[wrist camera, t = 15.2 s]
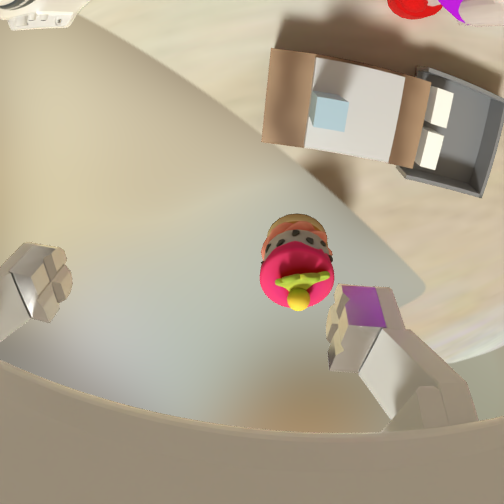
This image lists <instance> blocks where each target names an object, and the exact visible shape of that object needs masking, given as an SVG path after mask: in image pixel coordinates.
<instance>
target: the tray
mask: <svg viewBox="0 0 504 504" xmlns="http://www.w3.org/2000/svg"><path fill="white" fill-rule="evenodd" d="M415 77H416V78H419V79H422V80H425V81H428V82H431V86H433V87H437V88H440V89H443V90H446V91H448V92H451V93H454V95H453V100H452V105H451V110H450V114H449V119H448V123H447V128H444V127H441V126H437V125H434V124H431V123H429V122H427V121H425V120H424V123H423V126H426V127H429V128H431V129H433V130H435V131H436V132H438V133H440V134H442V135H443V136H444V138H443V142H442V146H441V150H440V154H439V158H438V162H437V165H436V169H435V170H433V169H429V168H425V167H421V166H419V165H418V164H417V163H416V162H415V161H414V165H413V169H411V168H407V167H403V166H398V165H397V167H396V168H397V169H398V171H399V172H400V173H401V174H402V175H403V176H404V178H405V179H409V180H413V181H417V182H422V183H426V184H430V185H434V186H438V187H442V188H446V189H450V190H454V191H457V192H461V193H465V194H468V195H472V196H475V197H479V198H482V196H483V193H484V190H485V187H486V184H487V181H488V178H489V175H490V171H491V168H492V165H493V161H494V158H495V154H496V151H497V147H498V143H499V139H500V136H501V131H502V127H503V123H504V98H502V97H499V96H497V95H495V94H493V93H491V92H489V91H487V90H485V89H482V88H480V87H478V86H476V85H473V84H471V83H469V82H466V81H464V80H461V79H459V78H456V77H454V76H451V75H449V74H446V73H443V72H440V71H438V70H435V69H432V68H429V67H420V66H417V68H416V75H415Z"/></svg>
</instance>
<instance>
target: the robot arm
mask: <svg viewBox="0 0 504 504" xmlns="http://www.w3.org/2000/svg"><path fill="white" fill-rule="evenodd" d="M89 1H90V0H0V19H2V20H8V24H9V27H10V29H11V30H27V29H40V28H41V29H42V28H67V27H69V26H70V25H71V24H72V22H73V21H74V19H75V17H76V16H77V14H78V12H79V11H80V10H81V9H82V8H83V7H84V6H85V5H86V4H87V3H88V2H89ZM60 20H61V22H60ZM66 261H67V257H66V254H65V251H64V250H63V249H62V248H60V247H54V246H48V245H43V244H37V243H32V242H26V243H23V244H22V245H21V246H20V247H19V248H18V249H17V250H16V251H15V252H14V253H13V254H12V255H11V256H10V257H9V258H8V259H7V260H6V261H5V262H4V263H3V264H2V265H1V267H0V342H1V341H2V340H4V339H5V338H6V337H8V336H9V335H10V334H11V333H13V332H14V331H16V330H17V329H18V328H19V327H21V326H22V325H24V324H25V323H26V322H27V321H29V320H30V318H32V319H36V320H40V321H44V322H47V323H50V322H51V321H52V319H53V318H54V316H55V315H56V313H57V312H58V310H59V309H60V308H59V303H60V302H62V301H64V300H65V299H66V298H67V297H68V296H69V294H70V292H71V288H72V284H73V283H72V275H71V271H70V270H69V268H68V267H67V266H66V265H65V263H66ZM334 299H335V303H334V304H333V305H332V306H330V309H329V312H328V316H327V322H326V339H327V340H328V341H329V343H330V346H329V349H328V362H329V371H341V372H354V373H355V372H356V373H358V375H359V376H360V377H361V379H362V380H363V382H364V383H365V384H366V386H367V387H368V389H369V390H370V391H371V393H372V394H373V396H374V397H375V398H376V400H377V401H378V403H379V404H380V405H381V407H382V408H383V410H384V411H385V412H386V414H387V415H388V417H389V418H390V419H391V421H390V422H389V423H388V424H387V425H386V426H385V428H384V429H383V430H382V431H381V432H378V433H377V432H375V433H309V432H291V431H290V432H289V431H277V430H265V429H255V428H246V427H237V426H230V425H223V424H216V423H210V422H203V421H198V420H192V419H187V418H181V417H176V416H171V415H167V414H162V413H157V412H153V411H148V410H145V409H140V408H136V407H132V406H129V405H125V404H121V403H117V402H114V401H110V400H106V399H103V398H100V397H97V396H94V395H90V394H87V393H84V392H81V391H78V390H75V389H72V388H69V387H66V386H63V385H60V384H58V383H55V382H52V381H50V380H47V379H44V378H42V377H39V376H37V375H34V374H32V373H29V372H27V371H25V370H22V369H20V368H18V367H15V366H13V365H11V364H9V363H6V362H4V361H2V360H0V504H504V416H501V417H496V418H492V419H487V420H482V421H479V420H478V417H477V413H476V410H475V406H474V403H473V400H472V397H471V394H470V391H469V388H468V385H467V382H466V381H465V380H464V379H463V378H462V377H460V376H459V375H458V374H457V373H456V372H455V371H454V370H453V369H452V368H451V367H450V366H449V365H448V364H447V363H446V362H445V361H444V360H443V359H442V358H441V357H439V356H438V355H437V354H436V353H435V352H434V351H433V350H432V349H431V348H430V347H429V346H428V345H427V344H425V343H424V342H423V341H422V340H421V339H420V338H419V337H418V336H417V335H416V334H415V333H413V332H412V331H411V330H408V329H405V326H404V323H403V320H402V317H401V314H400V311H399V308H398V306H397V303H396V300H395V297H394V294H393V291H392V289H390V288H389V287H375V286H373V287H368V286H358V285H348V284H338V285H337V287H336V290H335V293H334Z"/></svg>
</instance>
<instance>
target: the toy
mask: <svg viewBox="0 0 504 504" xmlns="http://www.w3.org/2000/svg"><path fill="white" fill-rule="evenodd" d="M387 2H388V6H389V7H390V9H391V10H392V11H393V12H394V13H395V14H397V15H398V16H400V17H402V18H407V19H411V20H412V19H421V18H424V17H428V16H431V15H434V14H436V13H437V12H438V11H439V10H441V8H442V6H443V7H444V8H445V9H447V10H448V11H449V12H450V13H451V14H452V15H453V16H454V17H455V18H456V19H458V20H457V22H458V24H459V25H472V26H475V27H482V26H504V0H387Z"/></svg>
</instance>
